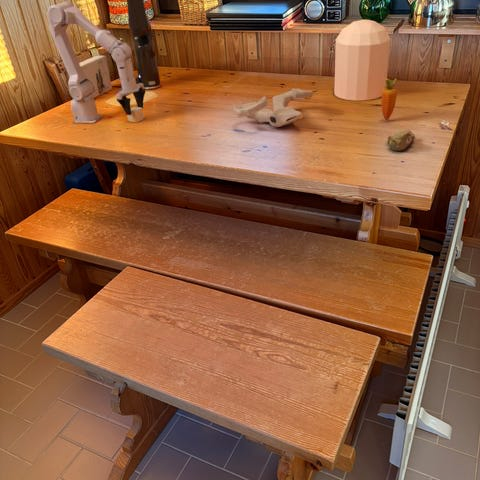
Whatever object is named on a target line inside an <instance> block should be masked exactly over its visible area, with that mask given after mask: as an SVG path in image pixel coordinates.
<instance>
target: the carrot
mask: <svg viewBox="0 0 480 480" xmlns="http://www.w3.org/2000/svg"><path fill="white" fill-rule="evenodd" d="M397 81H398V78H395V79H394V80H393V82H391V79H390V78H387V79H386V89H384V90H383V91H382V96H381V97H380V98H381V100H380V101H381V102H380V104H381V112H382V113H381V114H382V117H383V119H384V120H385V121H386V122H388V121H389V119H390V118H391V117H392V114H393V112H394V109H395V106H396V101H397V96H398V95H397V94H398V91H397V89H395V88H394V86H395V85H396V83H397Z"/></svg>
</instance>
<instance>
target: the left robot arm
mask: <svg viewBox="0 0 480 480" xmlns="http://www.w3.org/2000/svg"><path fill="white" fill-rule="evenodd" d="M46 17H47V19H48V30H49V32H50V35H51V37H52V40H53V43H54V45H55V47H56V49H57V51H58V54H59V55H60V58H61V61H62V63H63V65H64V68H65V70H66V72H67V74H68V77H69V78H68V81H67V86H68V88H69V94H70V96H71V98H72V100H71V102H70V109H71V112H72V115H73V119H74V121H73V122H74V123H75V124H93V123H96V122H97V121H99V120H100V119H102V118H103V116H104V115H103V114H99V112H98V108H97V104H96V101H95V98H94V97H93V96H94V95H93V92H94V90H95V87H94V84H93V83H92V82H91V81H90V79H89V77H88V75H86V74H85V73H83V72H82V69H81V67H80V64H79V63H80V61H79V60H78V58H77V55H76V53H75V50H74V48H73V45H72V43H71V40H70V38H69V36H68V34H67V29H68V27H69V25H76V26H77V27H79V28H81V29H82V30H84V31H85V32H86V33H88V34H89V35H91V36H92V37H94V38H95V43H97V44H98V45H99V46H100V47H101V48H103V49H104V50H105V51H106V52H108V53H109V54H111V55H110V56H111V58H112V59H113V61H114V62H115V65H116V67H117V72H118V76H119V81H120V86H122V88H121V90H119V92H118V93H116V94H115V97H116V102H118V103H119V105H120V106H121V107H122V109H123V111H124V114H125V115H126V116H127V115H131V108H132V107H131V98H130V97H127V96H130V95H133V97H134V99H135V103H136V107H140V108H142V109H144V98H145V94H146V90H144V89H143V88H144V86H143V83H139V84H136V81H135V78H136V76H135V71H134V67H133V62H132V55H133V50H132V48H131V46H130V45H129V44H128V43H127V42H124V41H123V42H122V40H120V39H118V38H116V37H115V36H114V35H113V34H111V31H110V30H106V29H101V28H99V27H98V26H97V25H96V24H95V23H94V22H92V21H91V20H90V19H89V18H87V16H85V14H83V13H82V12H81V10H80V9H79V8H78V7H77V6H75V5H74V4H73V3H72V2H70V1H68V0H64V1H63V2H60V3H57V4H52V5H50V6H49V7H48V9H47V12H46Z"/></svg>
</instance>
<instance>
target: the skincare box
mask: <svg viewBox="0 0 480 480" xmlns="http://www.w3.org/2000/svg"><path fill="white" fill-rule="evenodd" d="M79 64H80V67H81V69H82V72H83V73H85V74H86V75H88V77H89V79H90V81H91V82H92V83H93V84H94V87H95V90H94V92H93V95H94V96H93V97H94V99H95V98H97V97H100V96H101V95H103V94H105V93H107V92H108V91H110V90H112V89H113V87H112V86H113V84H112V81H111V76H110V72H109V71H110V70H109V66H108V62H107V57H106V55H100V54H99V55H95V56H92V57H90V58H87V59H85V60H83V61H79Z"/></svg>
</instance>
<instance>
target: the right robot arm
mask: <svg viewBox="0 0 480 480" xmlns="http://www.w3.org/2000/svg"><path fill="white" fill-rule="evenodd" d="M126 7H127V18H128V20H127V21H128V28H129V30H130V32H131V35H132V43H133V50H134V54H135V59H136V64H137V67H136V71H137V72H136V73H137V76H135V81H136V84H139V83H143V86H144V88H143V90H145V91H151V90H152V91H153V90H157V89H159V88H161V87H162V83H161V78H160V73H159V72H160V71H159V67H158V66H159V65H158V62H157V61H158V60H157V55H156V50H155V44H154V36H153V32H152V25H151V20H150V17H149V16H148V15H147V11H146V7H145V0H126ZM112 88H121V89H122V85H112Z"/></svg>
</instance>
